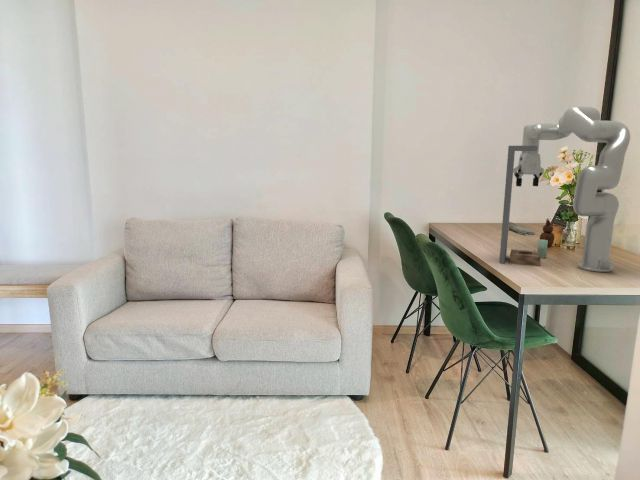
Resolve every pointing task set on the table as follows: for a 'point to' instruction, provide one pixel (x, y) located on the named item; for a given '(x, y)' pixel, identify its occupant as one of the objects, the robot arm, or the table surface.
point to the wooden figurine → (547, 233)
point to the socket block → (525, 257)
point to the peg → (542, 248)
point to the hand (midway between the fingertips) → (527, 186)
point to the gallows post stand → (509, 196)
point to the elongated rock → (520, 229)
